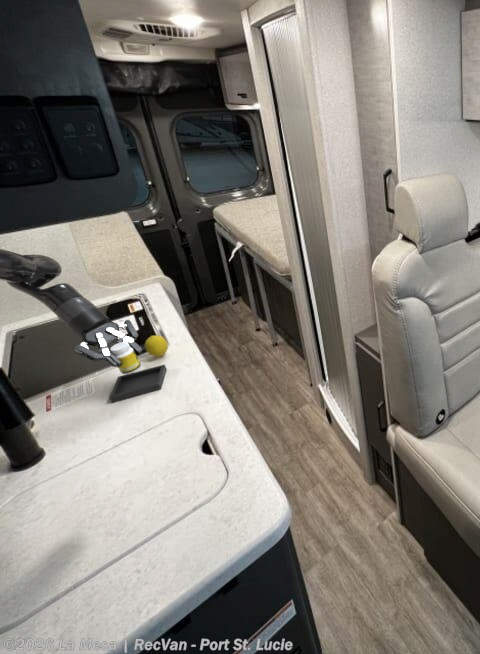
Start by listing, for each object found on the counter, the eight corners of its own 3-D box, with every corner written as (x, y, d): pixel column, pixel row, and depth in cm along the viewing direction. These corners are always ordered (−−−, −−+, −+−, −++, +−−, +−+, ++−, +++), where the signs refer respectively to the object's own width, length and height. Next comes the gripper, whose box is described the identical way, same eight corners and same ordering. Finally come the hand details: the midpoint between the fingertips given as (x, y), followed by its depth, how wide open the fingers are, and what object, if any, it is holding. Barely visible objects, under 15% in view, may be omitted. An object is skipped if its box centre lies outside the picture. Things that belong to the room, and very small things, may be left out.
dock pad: (111, 403, 107) (108, 398, 106) (120, 381, 115) (118, 376, 114) (161, 389, 112) (158, 384, 111) (166, 369, 119) (164, 364, 118)
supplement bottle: (145, 366, 111) (133, 343, 108) (127, 376, 108) (114, 353, 104) (135, 362, 113) (123, 339, 109) (117, 372, 109) (104, 348, 106)
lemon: (146, 359, 124) (136, 339, 120) (163, 349, 128) (154, 329, 125) (159, 363, 122) (149, 342, 118) (175, 352, 127) (166, 332, 123)
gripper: (52, 324, 98) (104, 370, 100) (112, 297, 110) (158, 338, 112) (49, 337, 102) (100, 381, 104) (108, 309, 114) (152, 349, 116)
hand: (130, 359), depth 108 cm, fingers closed on supplement bottle, 4 cm apart
